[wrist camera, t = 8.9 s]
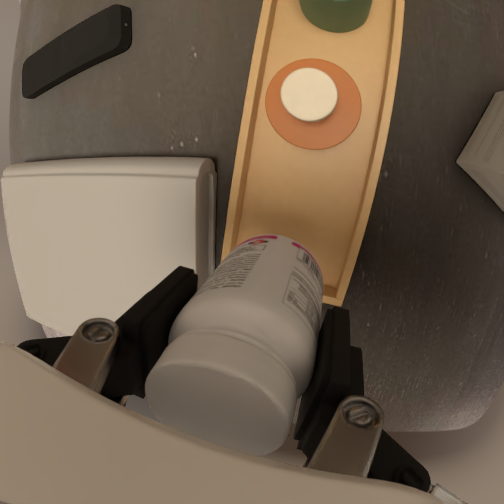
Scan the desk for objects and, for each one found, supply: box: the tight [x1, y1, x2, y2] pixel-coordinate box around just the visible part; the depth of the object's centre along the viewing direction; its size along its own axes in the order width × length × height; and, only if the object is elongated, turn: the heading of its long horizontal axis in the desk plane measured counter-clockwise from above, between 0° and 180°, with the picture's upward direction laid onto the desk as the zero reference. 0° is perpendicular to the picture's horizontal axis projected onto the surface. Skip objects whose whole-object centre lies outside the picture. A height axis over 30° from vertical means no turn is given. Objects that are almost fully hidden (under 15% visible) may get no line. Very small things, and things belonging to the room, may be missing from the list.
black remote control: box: [22, 4, 131, 99], centre depth 21 cm, size 5×2×15 cm
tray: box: [221, 0, 405, 307], centre depth 18 cm, size 25×9×2 cm, turn 171°
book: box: [1, 157, 217, 336], centre depth 26 cm, size 18×4×24 cm
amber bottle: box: [265, 58, 362, 150], centre depth 15 cm, size 5×5×8 cm
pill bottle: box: [145, 234, 323, 457], centre depth 11 cm, size 5×5×8 cm
